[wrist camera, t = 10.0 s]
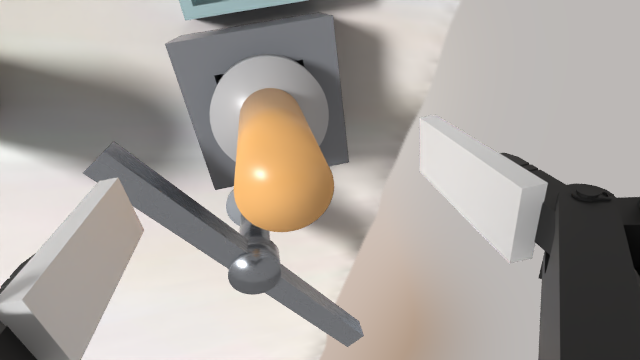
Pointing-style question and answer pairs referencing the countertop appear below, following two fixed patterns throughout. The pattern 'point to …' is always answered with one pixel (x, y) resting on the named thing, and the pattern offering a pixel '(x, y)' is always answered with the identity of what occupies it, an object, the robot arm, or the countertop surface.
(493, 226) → the robot arm
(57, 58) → the countertop surface
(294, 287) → the grey lever handle
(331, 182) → the tamper
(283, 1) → the tray
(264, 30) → the socket block
